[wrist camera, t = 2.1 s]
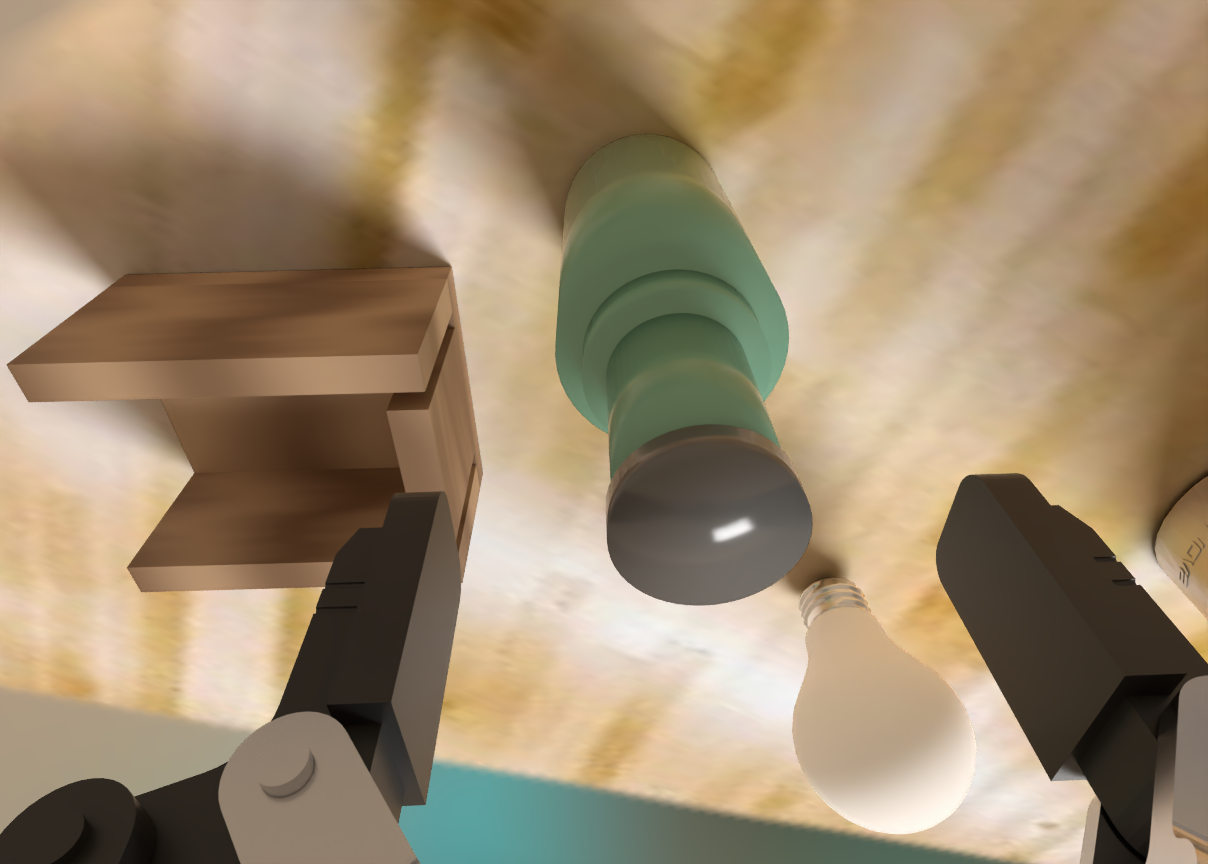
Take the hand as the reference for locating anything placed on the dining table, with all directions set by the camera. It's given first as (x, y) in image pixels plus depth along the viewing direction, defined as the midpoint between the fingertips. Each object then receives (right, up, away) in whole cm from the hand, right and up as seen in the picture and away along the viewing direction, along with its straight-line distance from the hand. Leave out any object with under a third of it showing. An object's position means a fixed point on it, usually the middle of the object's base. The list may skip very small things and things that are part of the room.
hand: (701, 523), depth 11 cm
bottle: (0, +8, +12) cm, 15 cm away
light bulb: (+9, -6, +23) cm, 25 cm away
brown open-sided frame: (-12, +3, +15) cm, 20 cm away
